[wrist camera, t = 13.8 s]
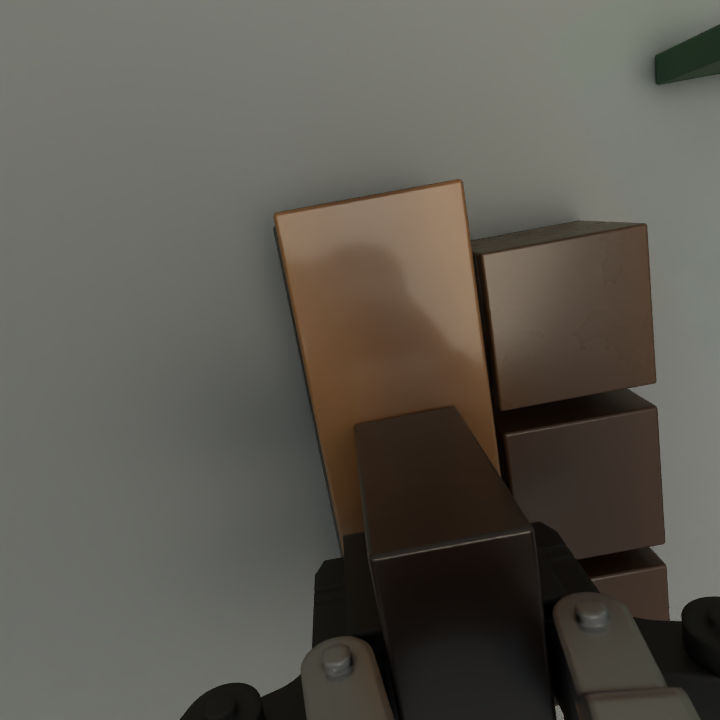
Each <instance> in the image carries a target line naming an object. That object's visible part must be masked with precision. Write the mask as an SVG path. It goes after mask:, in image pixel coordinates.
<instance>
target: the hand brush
mask: <svg viewBox="0 0 720 720" xmlns="http://www.w3.org/2000/svg"><path fill="white" fill-rule="evenodd" d="M273 218H274V222H275V227H274V229H273V230H274V235H275V240H276V245H277V250H278V254H279V259H280V264H281V269H282V274H283V278H284V283H285V288H286V293H287V298H288V303H289V307H290V312H291V317H292V322H293V327H294V331H295V336H296V341H297V346H298V351H299V356H300V360H301V365H302V370H303V375H304V380H305V384H306V389H307V394H308V399H309V404H310V409H311V413H312V418H313V423H314V428H315V433H316V437H317V442H318V447H319V452H320V457H321V462H322V466H323V471H324V476H325V481H326V486H327V490H328V495H329V500H330V505H331V510H332V515H333V519H334V524H335V529H336V534H337V539H338V543H339V548H340V553H341V558H342V557H344V546H343V535H348V534H353V533H359V532H364V531H365V538H366V547H367V556H368V563H369V568H370V573H371V578H372V584H373V589H374V594H375V599H376V604H377V609H378V614H379V619H380V624H381V630H382V635H383V640H384V645H385V650H386V655H387V660H388V665H389V670H390V676H391V681H392V686H393V691H394V696H395V701H396V706H397V711H398V716H399V720H557V719H556V710H555V702H554V693H553V685H552V676H551V668H550V659H549V651H548V642H547V634H546V625H545V617H544V608H543V600H542V591H541V583H540V574H539V566H538V557H537V549H536V540H535V532H534V528H533V527H532V525H531V524H530V522H529V520H528V519H527V517H526V516H525V514H524V513H523V511H522V510H521V508H520V506H519V505H518V503H517V502H516V500H515V499H514V497H513V495H512V494H511V492H510V491H509V489H508V488H507V486H506V485H505V483H504V481H503V480H502V478H501V471H500V464H499V456H498V448H497V440H496V433H495V425H494V417H493V410H492V402H491V394H490V386H489V379H488V371H487V363H486V355H485V348H484V340H483V332H482V325H481V317H480V309H479V301H478V294H477V286H476V278H475V271H474V263H473V255H472V247H471V240H470V232H469V224H468V217H467V209H466V201H465V193H464V186H463V182H462V180H460V179H456V180H451V181H445V182H440V183H434V184H429V185H423V186H418V187H412V188H407V189H401V190H396V191H390V192H385V193H379V194H374V195H368V196H363V197H357V198H352V199H347V200H341V201H336V202H330V203H325V204H319V205H314V206H308V207H303V208H297V209H292V210H286V211H281V212H276V213H275V214H274V217H273Z"/></svg>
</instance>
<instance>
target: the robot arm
mask: <svg viewBox="0 0 720 720" xmlns="http://www.w3.org/2000/svg"><path fill="white" fill-rule="evenodd" d="M530 524H531V525H532V527H533V528H534V532H535V540H536V549H537V557H538V566H539V574H540V583H541V591H542V600H543V608H544V617H545V625H546V634H547V642H548V651H549V659H550V668H551V676H552V685H553V693H554V702H555V705H556V704H559V706H560V708H561V710H562V712H563V714H564V720H720V597H703V598H699V599H696V600H693V601H691V602H689V603H688V604H687V605H686V606H685V607H684V608H683V610H682V614H681V616H682V622H681V621H661V620H647V619H642V618H637V617H634V616H632V615H631V613H630V611H629V610H628V608H627V607H626V606H625V605H624V604H623V603H621V602H620V601H619V600H617V599H615V598H613V597H611V596H608V595H605V594H601V593H600V592H599V590H598V589H597V587H596V586H595V585H594V583H593V582H592V580H591V579H590V578H589V576H588V575H587V573H586V572H585V570H584V569H583V568H582V566H581V565H580V563H579V562H578V561H577V559H576V558H574V555H573V553H572V552H571V551H570V549H569V548H568V547H567V546H566V543H565V542H564V541H563V539H562V538H561V536H560V535H559V534H558V532H557V531H556V530H554V529H552V528H550V527H549V526H547V525H545V524H544V523H542V522H540V521H539V522H534V523H530ZM343 546H344V557H342V558H336V559H331V560H325V561H324V562H323V564H322V565H321V567H320V568H319V570H318V572H317V573H316V575H315V589H314V591H315V593H314V614H313V639H312V649H311V650H310V651H309V652H308V654H307V655H306V656H305V658H304V659H303V662H302V665H301V674H300V675H299V676H298V677H297V678H296V679H295V680H294V681H292V682H291V683H289V684H288V685H286V686H284V687H282V688H280V689H278V690H276V691H274V692H272V693H269V694H267V695H265V696H263V697H261V698H260V694H259V693H258V691H257V690H256V689H255V688H254V687H252V686H250V685H248V684H244V683H229V684H224V685H221V686H218V687H216V688H213V689H211V690H209V691H208V692H206V693H204V694H203V695H202V696H200V697H199V698H198V699H197V700H196V701H195V702H194V703H193V704H192V705H191V706H190V707H189V709H188V710H187V711H186V712H185V714H184V715H183V716H182V717H181V719H180V720H399V716H398V711H397V706H396V701H395V696H394V691H393V686H392V681H391V676H390V670H389V665H388V660H387V655H386V650H385V645H384V640H383V635H382V630H381V624H380V619H379V614H378V609H377V604H376V599H375V594H374V589H373V584H372V578H371V573H370V568H369V563H368V556H367V547H366V538H365V531H364V532H359V533H353V534H348V535H343Z"/></svg>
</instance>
